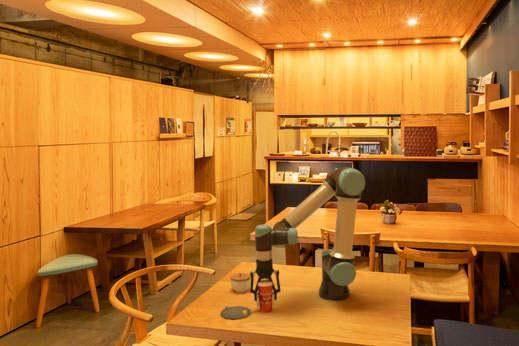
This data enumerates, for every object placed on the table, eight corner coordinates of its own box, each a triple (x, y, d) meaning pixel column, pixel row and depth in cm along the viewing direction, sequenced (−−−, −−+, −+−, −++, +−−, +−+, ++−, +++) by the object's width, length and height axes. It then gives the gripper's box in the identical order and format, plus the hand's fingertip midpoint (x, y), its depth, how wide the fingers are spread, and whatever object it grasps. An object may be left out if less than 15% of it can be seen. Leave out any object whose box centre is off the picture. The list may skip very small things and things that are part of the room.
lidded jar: (252, 287, 269) (251, 269, 268) (250, 294, 258) (249, 276, 257) (232, 287, 270) (231, 270, 269) (229, 294, 259) (228, 276, 258)
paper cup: (260, 314, 231) (259, 284, 230) (255, 308, 239) (254, 279, 237) (276, 311, 233) (275, 282, 232) (271, 306, 241) (270, 277, 239)
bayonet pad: (251, 307, 240) (251, 301, 240) (250, 319, 226) (250, 312, 226) (221, 308, 240) (221, 302, 240) (219, 320, 226) (218, 314, 226)
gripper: (285, 255, 237) (286, 303, 240) (243, 257, 237) (245, 304, 240) (285, 260, 230) (287, 309, 232) (242, 261, 230) (244, 310, 232)
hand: (265, 306), depth 236 cm, fingers closed on paper cup, 7 cm apart
